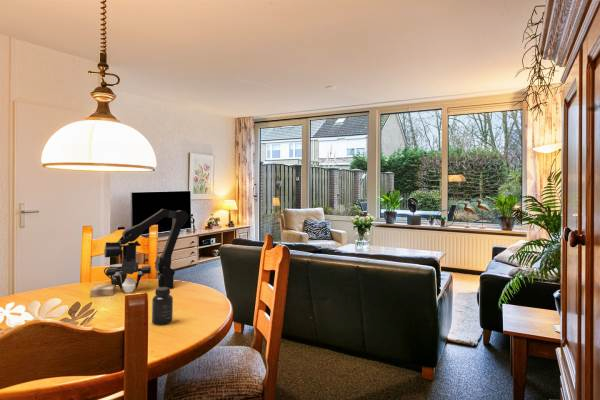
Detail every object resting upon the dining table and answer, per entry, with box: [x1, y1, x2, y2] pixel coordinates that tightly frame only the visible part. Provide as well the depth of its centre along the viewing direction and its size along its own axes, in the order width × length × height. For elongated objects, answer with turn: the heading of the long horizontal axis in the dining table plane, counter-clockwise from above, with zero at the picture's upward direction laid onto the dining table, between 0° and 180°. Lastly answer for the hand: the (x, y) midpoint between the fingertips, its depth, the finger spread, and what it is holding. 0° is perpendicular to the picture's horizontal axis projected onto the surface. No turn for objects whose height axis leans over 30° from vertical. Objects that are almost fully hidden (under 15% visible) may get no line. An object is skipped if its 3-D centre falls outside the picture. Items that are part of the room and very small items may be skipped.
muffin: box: [122, 276, 137, 294], centre depth 169 cm, size 6×6×7 cm
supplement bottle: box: [151, 287, 174, 326], centre depth 127 cm, size 7×7×12 cm
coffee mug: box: [103, 263, 128, 285], centre depth 185 cm, size 12×9×10 cm
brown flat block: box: [90, 284, 117, 298], centre depth 165 cm, size 9×9×3 cm
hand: (129, 289), depth 169 cm, fingers closed on muffin, 6 cm apart
